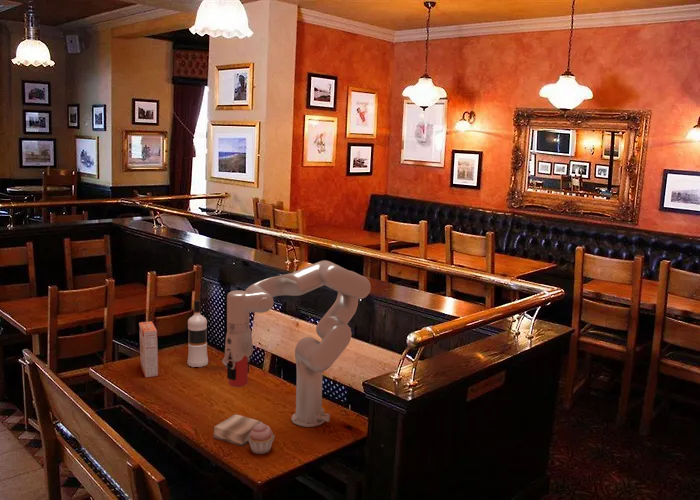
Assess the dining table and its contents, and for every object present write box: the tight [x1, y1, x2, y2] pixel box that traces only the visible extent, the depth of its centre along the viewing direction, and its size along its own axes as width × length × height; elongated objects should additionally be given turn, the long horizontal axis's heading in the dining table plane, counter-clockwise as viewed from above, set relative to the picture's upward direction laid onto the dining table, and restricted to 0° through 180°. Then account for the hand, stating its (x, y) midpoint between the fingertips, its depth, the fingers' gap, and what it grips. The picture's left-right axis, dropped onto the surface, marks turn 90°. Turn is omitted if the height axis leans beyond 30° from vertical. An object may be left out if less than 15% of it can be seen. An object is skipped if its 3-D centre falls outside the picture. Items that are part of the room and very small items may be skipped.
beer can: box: [228, 356, 249, 388], centre depth 228 cm, size 7×7×12 cm
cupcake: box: [247, 421, 275, 455], centre depth 220 cm, size 9×9×10 cm
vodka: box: [186, 299, 209, 368], centre depth 294 cm, size 9×9×30 cm
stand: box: [212, 413, 263, 447], centre depth 231 cm, size 12×12×4 cm
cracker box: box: [138, 321, 159, 379], centre depth 285 cm, size 14×6×21 cm, turn 25°
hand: (238, 375), depth 229 cm, fingers closed on beer can, 6 cm apart
